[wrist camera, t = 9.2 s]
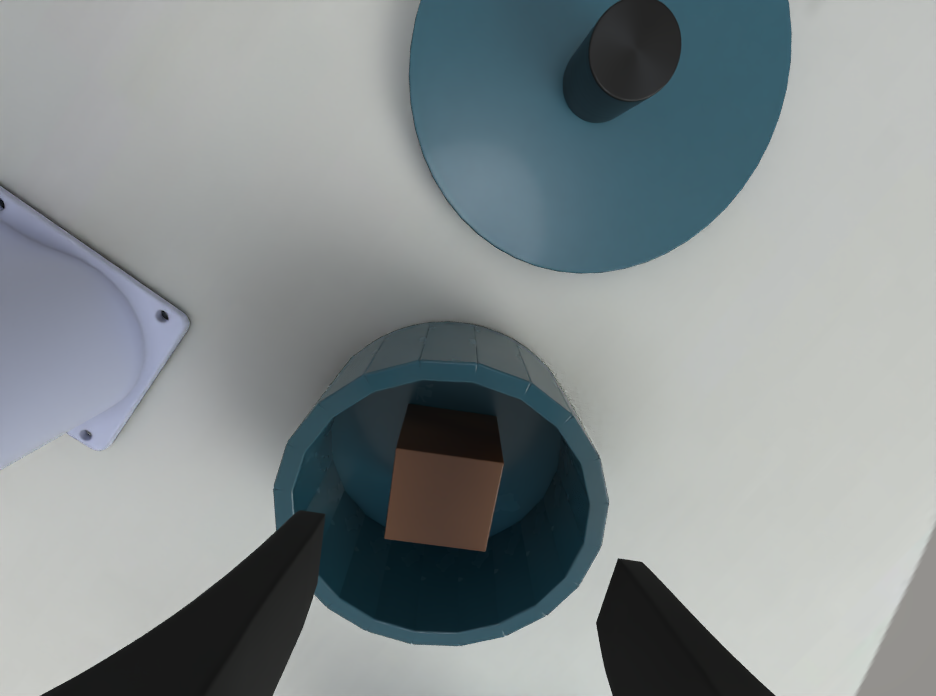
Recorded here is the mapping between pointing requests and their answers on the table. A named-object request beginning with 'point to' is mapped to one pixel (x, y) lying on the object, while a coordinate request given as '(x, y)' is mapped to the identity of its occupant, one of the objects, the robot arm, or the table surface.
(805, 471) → the table surface
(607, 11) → the lid
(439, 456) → the block
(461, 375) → the pot
